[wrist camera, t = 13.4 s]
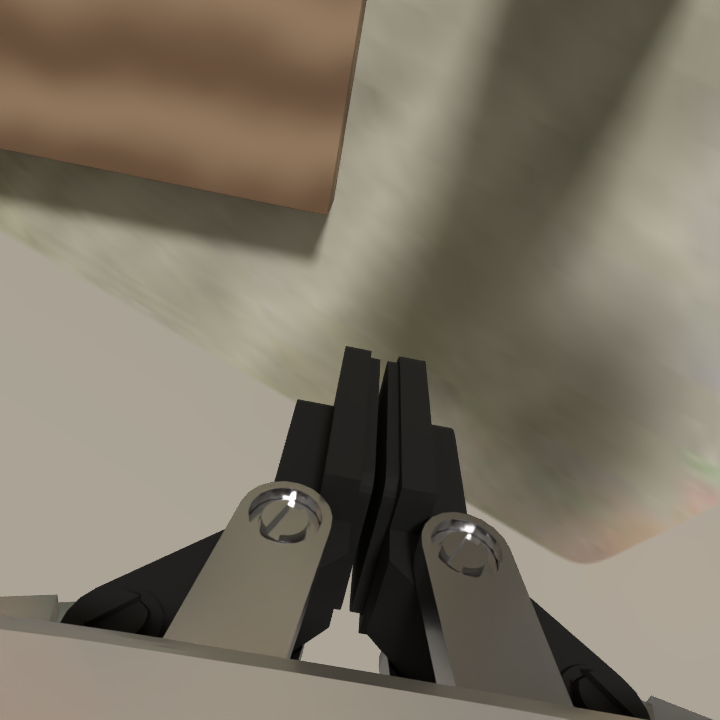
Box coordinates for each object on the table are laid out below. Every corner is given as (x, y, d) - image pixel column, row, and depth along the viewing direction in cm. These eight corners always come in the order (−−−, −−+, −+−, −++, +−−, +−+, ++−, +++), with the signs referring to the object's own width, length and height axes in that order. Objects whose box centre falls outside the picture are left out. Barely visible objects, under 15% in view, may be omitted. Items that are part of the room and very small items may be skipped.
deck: (-40, -133, 29) (-99, -158, 26) (373, -41, 30) (370, -52, 27) (-7, 129, 36) (-51, 138, 32) (333, 199, 36) (327, 215, 33)
